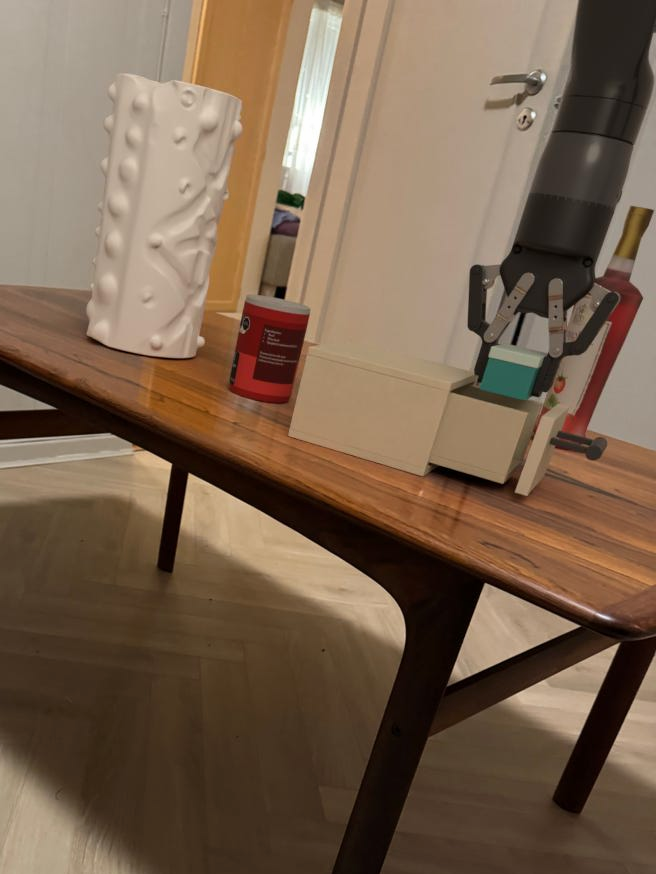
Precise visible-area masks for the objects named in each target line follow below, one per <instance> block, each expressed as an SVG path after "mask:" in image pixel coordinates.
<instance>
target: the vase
mask: <svg viewBox="0 0 656 874" xmlns="http://www.w3.org/2000/svg"><path fill="white" fill-rule="evenodd" d="M107 95H108V97H109V99H110V101H112V102H113V104H112V105H113V106H112V113H111V114H110V115H108V116H106V117H105V118H104V120H103V122H102V123H103V124H102V125H103V129H104V130H105V131H106V132H107V134H108V135H109V145H108V154H107V157H105V158H103V159H102V161H101V162H100V170H101V172H102V174H103V176H104V178H105V181H104V188H103V197H102V200H101V201H100V202H99V203H97V211H98V212H100V214H101V219H100V225H99V226H96V228H95V235H96V237H97V239H98V244H97V252H96V256H94V257H93V258H92V260H91V263H92V264H93V266H94V277H93V282H92V283H90V285H89V289H90V291H91V298H90V300H89V301H88V303H87V304H86V306H85V307H86V308H85V314H86V316H87V319H88V321H89V322H88V327H87V330H86V336H87V337H89V338H92V339H93V340H95V341H97V342H99V343H100V344H103V345H104V346H106V347H108V348H111V349H115V350H119V351H122V352H123V351H124V352H127V353H131V354H136V355H143V356H148V357H155V358H156V357H157V358H164V359H165V358H167V359H190V358H194V357H195V356H196V355H197V351H198V349H200V348H203V347H204V346H205V343H206V340H205V337H203V336H202V335H201V336H200V332H201V330H202V329H201V328H202V325H203V318H204V313H205V308H206V303H207V302H206V301H207V297H208V291H209V286H210V269H211V267H212V263H213V261H214V258H215V253H216V252H217V249H218V246H217V242H218V226H219V223H220V220H221V218H222V214H223V209H224V202H225V201H227V200H228V199H229V196H230V193H229V189H228V182H229V175H230V170H231V165H232V159H233V157H234V155H235V153H236V148H235V144H236V143H235V142H236V140H238V139H240V137H241V136H242V134H243V125H242V123H241V122H240V121H241V119H242V115H241V112H242V110H243V105H242V104H243V100H241V99H240V98H238V97H237V96H234V95H233V94H230V93H227V92H224V91H221V90H218V89H214V88H211V87H207V86H203V85H199V84H196V83H191V82H187V81H182V80H176V79H171V80H170V81H166V82H163V83H162V82H159V81H156V80H152V79H148V78H147V77H146V76H145V77H144V76H141V75H138V74H134V73H124V72H123V73H117V74H115V77H114V81H113V83H112V84H110V86H109V87H108V89H107Z"/></svg>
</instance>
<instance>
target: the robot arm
mask: <svg viewBox="0 0 656 874" xmlns="http://www.w3.org/2000/svg"><path fill="white" fill-rule="evenodd" d="M654 34H656V0H578V1H577V6H576V13H575V19H574V27H573V35H572V42H571V49H570V62H569V64H570V65H569V73H568V74H569V75H568V80H567V83H566V85H565V88H564V91H563V93H562V96H561V99H560V101H559V105H558V108H557V112H556V116H555V118H554V122H553V124H552V128H551V130H550V132H551V133H550V134H549V136H548V140H547V141H546V145H545V147H544V149H543V151H542V153H541V156H540V158H539V161H538V163H537V166H536V169H535V172H534V176H533V178H532V182H531V186H530V188H529V192H528V196H527V198H526V202H525V205H524V208H523V210H522V211H523V212H522V215H521V217H520V221H519V224H518V227H517V230H516V233H515V237H514V240H513V242H512V246H511V248H510V251H509V253H508V255H507V256H506V257H505V258H504V259H503V260H502V262H501V263H500V264H491V265H484V264H478V263H477V264H473V265H472V266H471V267H470V269H469V276H468V279H469V280H468V303H467V323H466V325H467V330H469V331H470V332H473V333H474V334H476V335H477V336H479V337H480V339H481V346H480V349H479V352H478V354H477V355H478V356H477V359H476V362H475V365H474V369H473V372H474V375H477V376H478V377H477V380H476V383H480V384H481V382H482V379H483V375H484V372H485V369H486V366H487V363H488V360H489V357H488V356H489V353H490V349H491V347H492V346H496V345H500V344H501V343H499V341H500V339H501V338H502V336H503V335H504V333H505V332H506V331H507V329H508V328H509V327H510V324H512V322H513V321H514V320H515V319H516V317H517V316H518V314H519V313H520V314H535V315H536V316H538V317H541V318H543V319H544V318H545V319H548V326H547V327H548V352H547V353H548V355H547V356H545V357H544V359H543V362H542V365H541V367H540V370H539V373H538V376H537V379H536V382H535V385H534V388H533V391H532V394H531V396H532V397H534V398H538V399H539V398H540V397H542V394H543V393H546V394H547V392H548V391H549V390H550V388H551V387H552V385H553V382H554V379H555V376H556V374H557V371H558V368H559V365H560V362H561V360H562V359H563V358H564V357H565V356H572V355H581V354H583V353H584V352H586V350H587V349H588V348H589V346H590V345H591V343H592V342H593V340H594V339H595V337H596V336H597V334H598V333H599V331H600V330H601V328H602V327H603V325H604V324H605V322H606V321H607V320H608V318H609V317H610V315H611V314H612V312H613V311H614V309H615V308H616V306H617V305H618V303H619V302H620V299H621V297H620V294H619V293H617V292H611V291H609V290H608V289H606V288H604V287H602V286H600V285H598V284H596V278H597V277H596V265H597V263H598V260H599V256H600V253H601V251H602V248H603V246H604V242H605V240H606V237H607V234H608V231H609V228H610V225H611V223H612V220H613V218H614V214H615V211H616V208H617V206H618V204H619V202H620V200H621V198H622V196H623V189H624V185H625V182H626V180H627V176H628V172H629V169H630V164H631V159H632V155H633V151H634V148H635V145H636V142H637V139H638V137H639V134H640V131H641V128H642V125H643V123H644V120H645V116H646V113H647V111H648V108H649V105H650V103H651V98H652V96H653V92H654V87H655V74H654V71H653V68H652V66H651V63H650V49H651V44H652V41H653V37H654ZM498 277H500V278H501V283H502V285H503V288H504V292H505V294H506V300H505V301H504V303H503V304H502V305H501V307H500V308H499V310H497V311H498V312H497V313H496V315H495V317H494V318H493V320H492V321H491V323H490V322H488V321H486V318H487V317H486V316H487V299H488V298H487V297H488V290H489V289H491V288H493V287H494V285H495V281H496V279H497V278H498ZM588 293H590V294H591V296H592V301H591V303H590V309H591V310H592V311H593V312H594V313H593V315H592V316H591V318H590V319H589V321H588V322H587V324H586V325H585V327H584V328H583V330H582V331H581V333H580V334H579V336H578V337H577V339H576V340H575V341H573V342H566V330H567V325H568V311H569V310H570V309H571V308H573V307H574V305H575V304H576V303H577V302H578V301H580V300H581V299H582V298H583V297H585V296H586V295H587V294H588Z"/></svg>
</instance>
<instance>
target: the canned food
mask: <svg viewBox="0 0 656 874" xmlns="http://www.w3.org/2000/svg"><path fill="white" fill-rule="evenodd" d="M310 315H311V307H309V306H308V305H305V304H303V303H299V302H296V301H291V300H288V299H283V298H278V297H274V296H269V295H268V296H267V295H262V294H261V295H260V294H247V295H246V296H245V300H244V304H243V309H242V313H241V318H240V323H239V327H238V328H239V329H238V334H237V338H236V344H235V348H234V354H233V359H232V364H231V369H230V375H229V380H228V383H229V384H228V386H229V390H230V391H231V392H232V393H234V394H236V395H238V396H239V397H240V396H241V397H244V398H246V399H250V400H255V401H259V402H264V403H270V404H271V403H272V404H284V403H287V402H289V399H290V398H291V396H292V393H293V389H294V384H295V381H296V377H297V371H298V368H299V363H300V359H301V354H302V350H303V346H304V342H305V338H306V334H307V330H308V325H309V320H310Z"/></svg>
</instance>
